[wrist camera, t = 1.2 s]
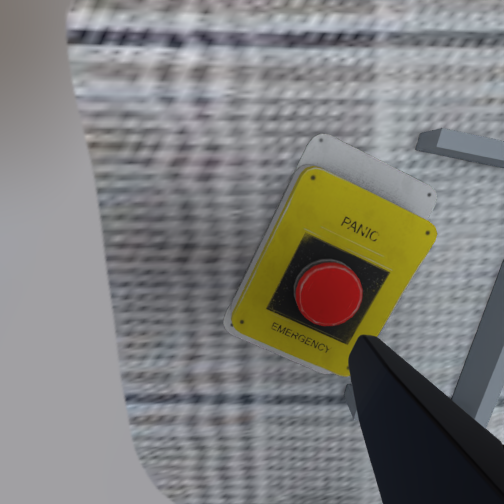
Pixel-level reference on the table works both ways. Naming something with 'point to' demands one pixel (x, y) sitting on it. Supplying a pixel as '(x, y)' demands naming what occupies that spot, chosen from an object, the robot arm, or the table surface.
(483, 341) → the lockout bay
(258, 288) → the emergency button
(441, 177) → the table surface
